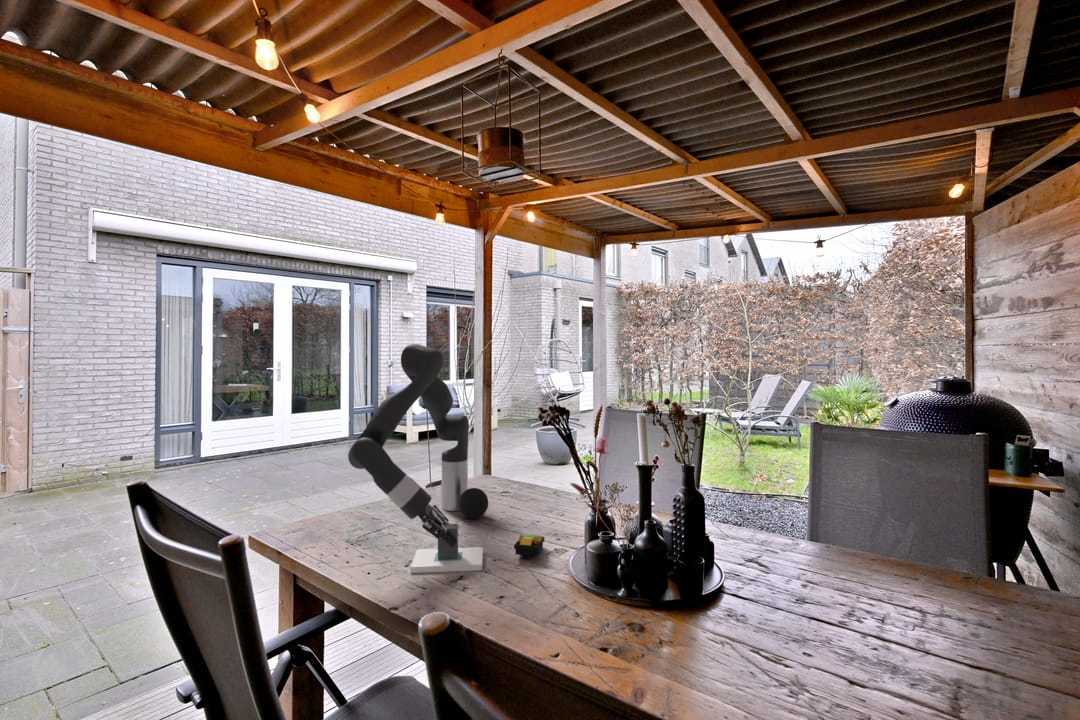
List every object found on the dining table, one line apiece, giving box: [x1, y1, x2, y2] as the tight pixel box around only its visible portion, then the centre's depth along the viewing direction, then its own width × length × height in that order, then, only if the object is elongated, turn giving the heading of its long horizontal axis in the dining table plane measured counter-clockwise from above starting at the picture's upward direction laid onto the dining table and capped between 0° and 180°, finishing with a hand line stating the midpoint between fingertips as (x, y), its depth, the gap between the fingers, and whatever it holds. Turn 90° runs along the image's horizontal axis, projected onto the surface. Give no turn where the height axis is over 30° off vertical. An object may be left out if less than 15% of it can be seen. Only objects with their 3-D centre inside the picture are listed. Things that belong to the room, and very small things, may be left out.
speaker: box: [458, 487, 489, 520], centre depth 178 cm, size 10×10×10 cm
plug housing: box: [437, 523, 459, 560], centre depth 140 cm, size 5×4×8 cm
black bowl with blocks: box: [513, 532, 546, 559], centre depth 146 cm, size 6×13×6 cm, turn 168°
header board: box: [409, 546, 484, 574], centre depth 140 cm, size 18×12×4 cm, turn 95°
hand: (455, 540), depth 140 cm, fingers closed on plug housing, 4 cm apart
